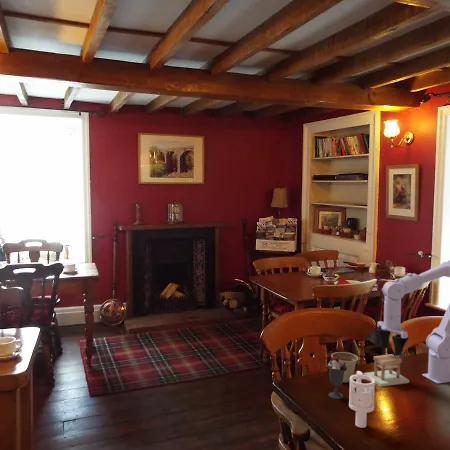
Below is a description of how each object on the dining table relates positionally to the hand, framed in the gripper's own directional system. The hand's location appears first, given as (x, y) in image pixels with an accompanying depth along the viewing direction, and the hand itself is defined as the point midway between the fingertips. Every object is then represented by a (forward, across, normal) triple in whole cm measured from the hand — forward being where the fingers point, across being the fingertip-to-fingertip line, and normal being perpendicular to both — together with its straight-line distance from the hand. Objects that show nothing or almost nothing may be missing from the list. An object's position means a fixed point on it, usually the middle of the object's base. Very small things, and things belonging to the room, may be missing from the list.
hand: (391, 351), depth 166 cm
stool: (+9, 0, -2) cm, 9 cm away
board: (+10, 0, -2) cm, 10 cm away
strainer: (+10, +26, -30) cm, 41 cm away
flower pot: (+10, -4, -17) cm, 20 cm away
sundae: (+10, +7, -27) cm, 29 cm away
